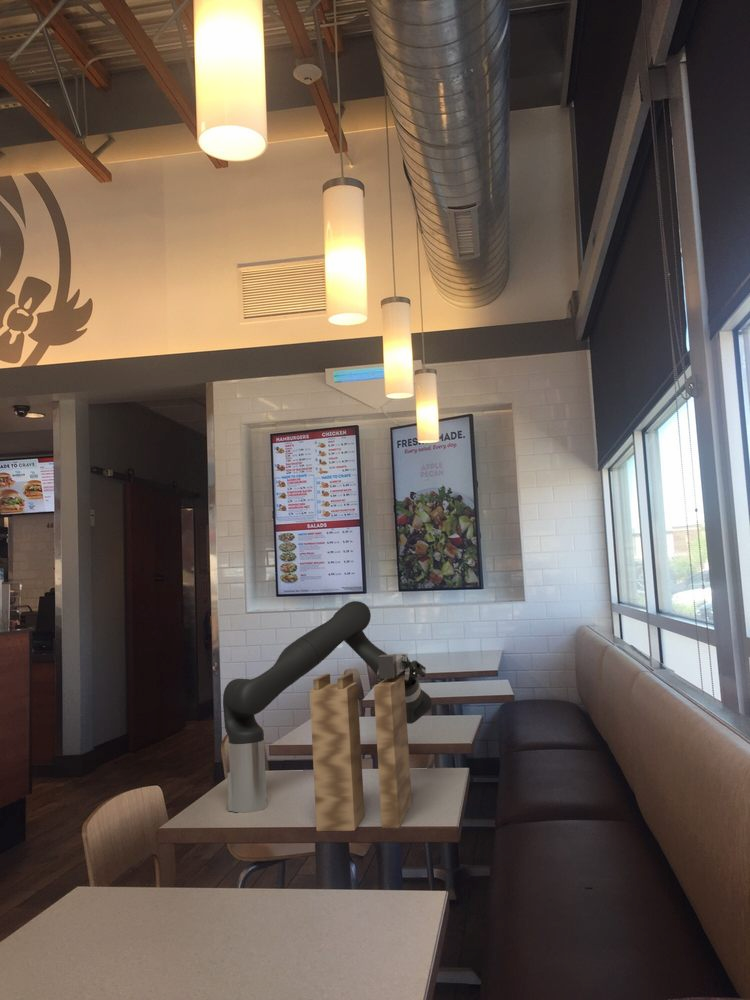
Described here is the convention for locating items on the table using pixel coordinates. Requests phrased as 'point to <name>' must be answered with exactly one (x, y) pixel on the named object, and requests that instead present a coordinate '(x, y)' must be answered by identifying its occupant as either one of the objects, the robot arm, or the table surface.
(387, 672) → the grey metal bar
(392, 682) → the stand
